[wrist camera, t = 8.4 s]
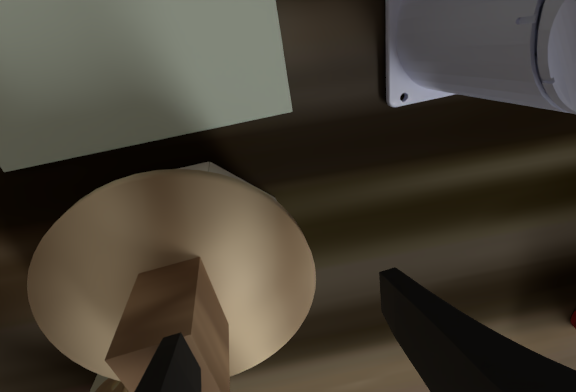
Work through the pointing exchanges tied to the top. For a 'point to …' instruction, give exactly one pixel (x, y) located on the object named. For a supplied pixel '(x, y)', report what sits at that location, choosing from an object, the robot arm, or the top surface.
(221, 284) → the lid
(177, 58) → the mat
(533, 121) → the top surface
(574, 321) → the plastic cup
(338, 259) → the top surface
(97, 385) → the skincare box
